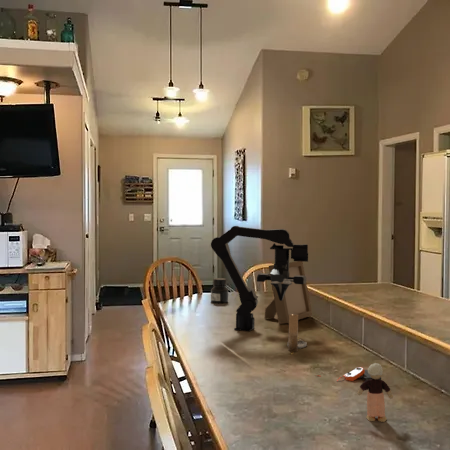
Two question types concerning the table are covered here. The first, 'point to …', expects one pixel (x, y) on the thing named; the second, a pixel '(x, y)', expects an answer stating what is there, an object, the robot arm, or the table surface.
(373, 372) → the grandmother figurine
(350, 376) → the multimeter
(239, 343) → the table surface
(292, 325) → the brown cylinder with ball
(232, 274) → the robot arm
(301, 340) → the stand plate
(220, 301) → the ink bottle
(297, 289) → the photo frame
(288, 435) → the table surface
